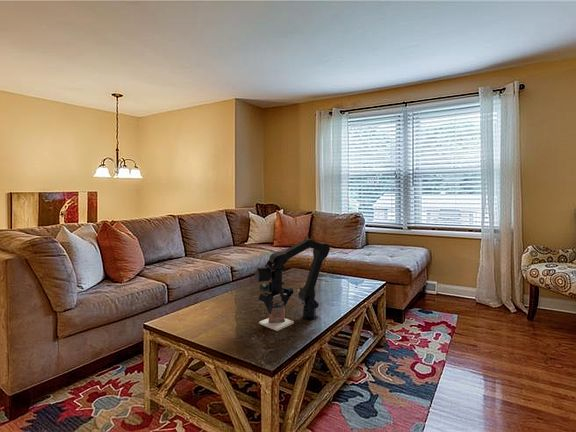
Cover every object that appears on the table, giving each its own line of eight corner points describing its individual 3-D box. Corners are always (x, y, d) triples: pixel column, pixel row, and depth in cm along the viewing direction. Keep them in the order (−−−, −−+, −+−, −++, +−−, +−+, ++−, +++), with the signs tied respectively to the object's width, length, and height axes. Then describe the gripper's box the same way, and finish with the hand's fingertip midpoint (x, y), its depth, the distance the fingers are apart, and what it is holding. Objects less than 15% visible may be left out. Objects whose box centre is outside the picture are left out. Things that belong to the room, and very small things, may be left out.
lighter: (269, 323, 166) (269, 303, 165) (268, 320, 169) (268, 301, 168) (285, 322, 168) (285, 302, 167) (284, 319, 171) (284, 299, 170)
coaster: (276, 316, 177) (276, 315, 177) (293, 323, 169) (293, 321, 169) (259, 323, 168) (259, 321, 168) (276, 331, 160) (276, 328, 160)
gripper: (277, 273, 179) (277, 302, 180) (251, 280, 165) (250, 312, 166) (294, 277, 171) (293, 307, 173) (267, 285, 158) (267, 318, 159)
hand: (276, 311), depth 168 cm, fingers open, 9 cm apart
